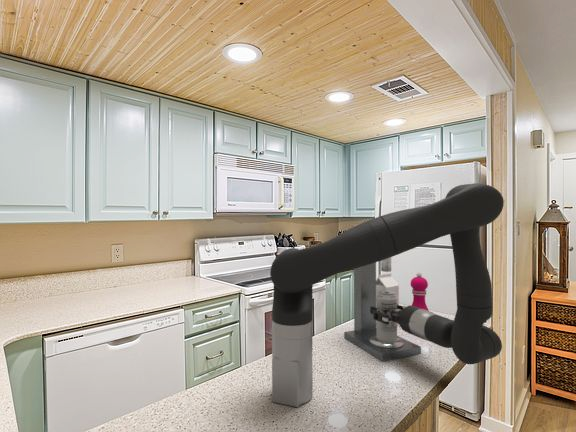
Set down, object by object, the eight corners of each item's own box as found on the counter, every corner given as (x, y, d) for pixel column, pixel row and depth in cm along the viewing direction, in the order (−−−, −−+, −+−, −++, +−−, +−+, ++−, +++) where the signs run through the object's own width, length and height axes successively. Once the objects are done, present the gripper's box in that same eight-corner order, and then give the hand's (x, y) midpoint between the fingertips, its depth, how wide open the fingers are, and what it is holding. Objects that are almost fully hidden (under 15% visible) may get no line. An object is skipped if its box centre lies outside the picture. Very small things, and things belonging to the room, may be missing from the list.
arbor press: (441, 349, 104) (440, 238, 104) (382, 361, 95) (382, 240, 95) (396, 329, 122) (396, 235, 122) (344, 337, 114) (343, 236, 114)
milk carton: (399, 325, 127) (398, 274, 127) (386, 328, 123) (386, 276, 123) (383, 320, 133) (383, 272, 133) (371, 323, 129) (371, 273, 129)
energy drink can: (393, 337, 107) (393, 289, 107) (399, 344, 101) (399, 294, 101) (374, 337, 107) (374, 289, 107) (379, 344, 101) (379, 294, 101)
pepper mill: (433, 330, 121) (433, 274, 121) (412, 330, 121) (412, 274, 121) (425, 323, 128) (425, 271, 129) (406, 323, 129) (406, 271, 129)
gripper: (440, 306, 94) (400, 294, 109) (400, 312, 88) (363, 298, 103) (440, 333, 94) (400, 317, 109) (400, 340, 88) (363, 323, 103)
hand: (382, 308), depth 106 cm, fingers open, 8 cm apart
